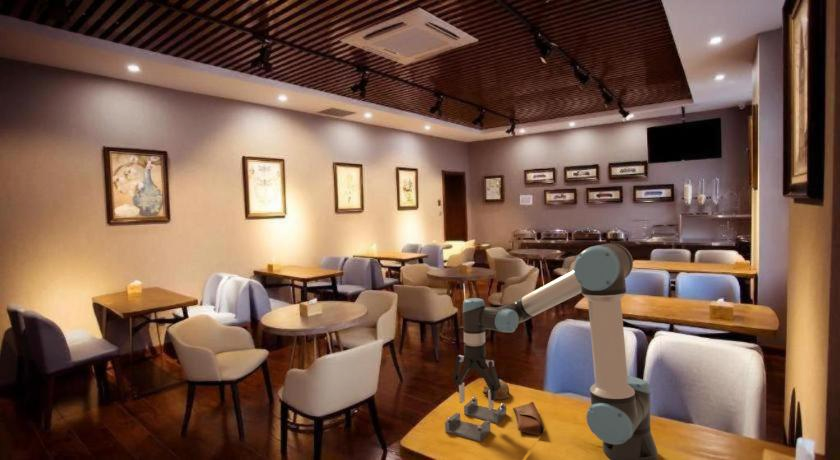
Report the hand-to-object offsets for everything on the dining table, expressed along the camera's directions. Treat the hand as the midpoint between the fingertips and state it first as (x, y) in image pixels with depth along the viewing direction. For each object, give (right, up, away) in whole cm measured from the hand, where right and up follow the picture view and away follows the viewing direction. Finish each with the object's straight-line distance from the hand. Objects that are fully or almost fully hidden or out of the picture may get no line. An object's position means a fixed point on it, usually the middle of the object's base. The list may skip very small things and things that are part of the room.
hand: (476, 405), depth 155 cm
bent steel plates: (0, -6, 0) cm, 6 cm away
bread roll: (+9, -6, +22) cm, 24 cm away
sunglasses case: (+16, -7, 0) cm, 17 cm away
